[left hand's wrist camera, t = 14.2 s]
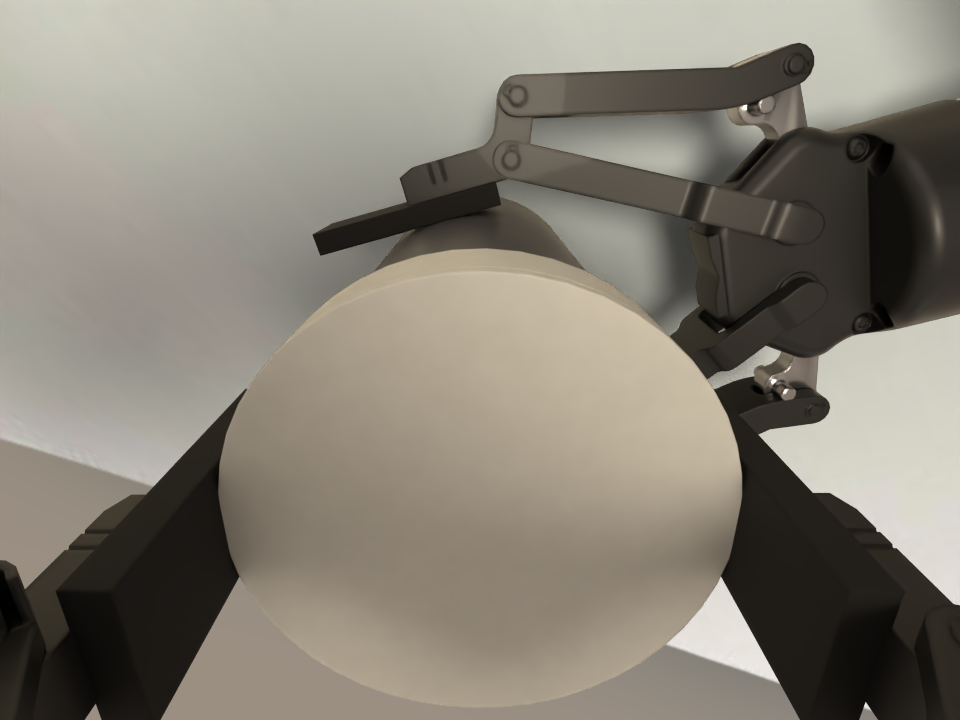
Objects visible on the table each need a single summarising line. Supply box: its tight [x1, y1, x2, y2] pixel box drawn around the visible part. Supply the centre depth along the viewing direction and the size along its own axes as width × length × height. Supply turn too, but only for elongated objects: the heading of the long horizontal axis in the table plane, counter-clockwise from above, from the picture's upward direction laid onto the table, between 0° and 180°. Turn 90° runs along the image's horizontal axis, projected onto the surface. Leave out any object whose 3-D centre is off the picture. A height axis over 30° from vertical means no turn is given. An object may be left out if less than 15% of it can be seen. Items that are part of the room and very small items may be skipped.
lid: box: [218, 248, 742, 708], centre depth 12 cm, size 10×10×2 cm
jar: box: [374, 198, 585, 272], centre depth 19 cm, size 9×9×17 cm
